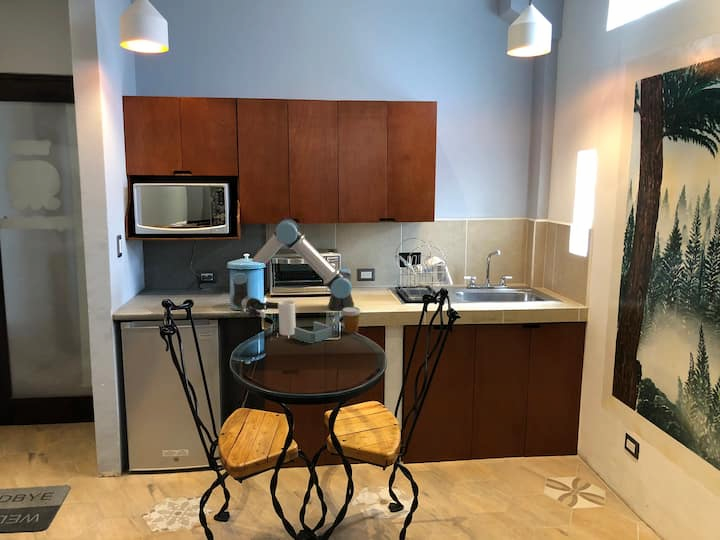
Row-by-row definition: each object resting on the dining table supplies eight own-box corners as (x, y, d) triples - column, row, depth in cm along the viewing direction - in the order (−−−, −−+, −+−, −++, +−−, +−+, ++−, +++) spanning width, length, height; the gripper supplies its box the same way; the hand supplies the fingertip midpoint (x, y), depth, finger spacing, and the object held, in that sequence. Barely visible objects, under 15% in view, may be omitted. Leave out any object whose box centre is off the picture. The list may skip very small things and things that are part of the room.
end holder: (317, 330, 291) (317, 320, 290) (335, 336, 281) (335, 326, 280) (293, 337, 280) (292, 328, 279) (311, 344, 270) (311, 334, 269)
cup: (292, 329, 293) (291, 299, 289) (298, 333, 285) (296, 303, 282) (277, 331, 289) (276, 301, 286) (282, 336, 282) (281, 305, 279)
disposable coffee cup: (358, 335, 282) (358, 312, 279) (340, 334, 284) (339, 311, 281) (362, 329, 291) (362, 307, 288) (344, 328, 293) (344, 306, 290)
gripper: (270, 306, 316) (294, 313, 301) (232, 316, 299) (255, 324, 284) (269, 293, 314) (293, 300, 300) (231, 302, 297) (254, 310, 283)
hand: (275, 312), depth 292 cm, fingers open, 13 cm apart
